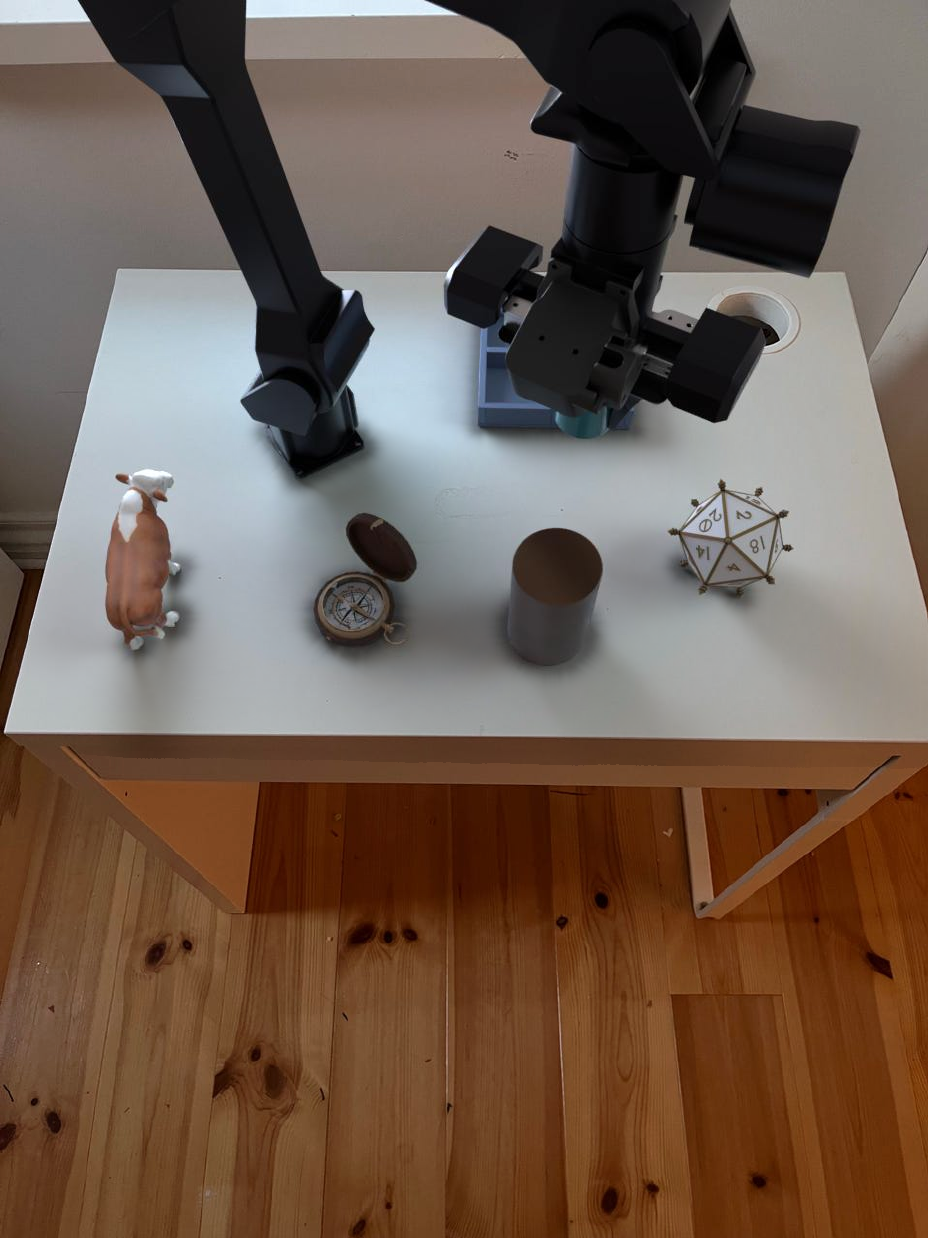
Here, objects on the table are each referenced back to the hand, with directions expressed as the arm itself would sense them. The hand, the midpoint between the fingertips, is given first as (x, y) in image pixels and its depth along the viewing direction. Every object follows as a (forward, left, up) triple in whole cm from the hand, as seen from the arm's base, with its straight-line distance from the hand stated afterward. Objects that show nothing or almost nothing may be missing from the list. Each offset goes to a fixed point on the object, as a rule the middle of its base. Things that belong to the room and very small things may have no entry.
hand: (584, 412), depth 61 cm
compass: (-17, +1, -13) cm, 22 cm away
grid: (+8, +14, -13) cm, 20 cm away
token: (0, 0, 0) cm, 0 cm away
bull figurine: (-30, +12, -13) cm, 35 cm away
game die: (+7, -10, -13) cm, 18 cm away
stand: (-7, -7, -13) cm, 16 cm away
